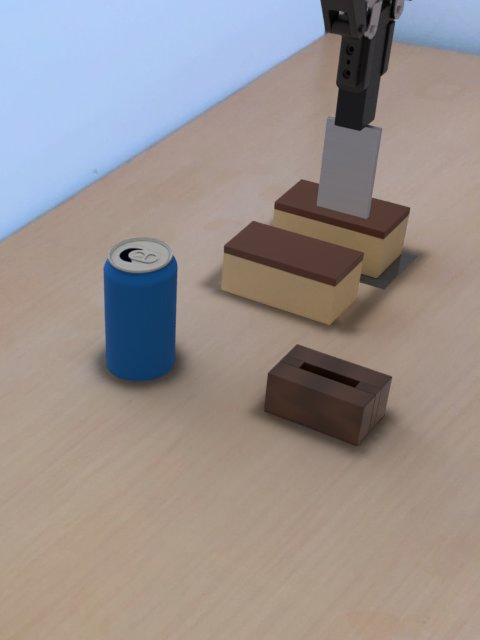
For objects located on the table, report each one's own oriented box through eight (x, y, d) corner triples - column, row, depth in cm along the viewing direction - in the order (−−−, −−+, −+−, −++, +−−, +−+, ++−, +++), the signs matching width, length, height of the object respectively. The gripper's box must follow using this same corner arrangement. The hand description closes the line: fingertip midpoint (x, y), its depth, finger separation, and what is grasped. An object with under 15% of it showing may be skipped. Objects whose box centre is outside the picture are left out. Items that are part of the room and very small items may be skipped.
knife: (374, 211, 87) (407, 5, 76) (360, 224, 86) (391, 17, 75) (324, 198, 89) (348, -4, 78) (310, 210, 88) (333, 7, 77)
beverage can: (125, 342, 107) (123, 228, 98) (185, 358, 105) (190, 242, 96) (94, 379, 104) (90, 264, 95) (156, 396, 102) (158, 279, 92)
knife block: (383, 423, 96) (393, 376, 92) (355, 455, 94) (364, 407, 90) (291, 390, 100) (296, 343, 96) (262, 419, 98) (267, 372, 94)
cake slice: (356, 299, 107) (364, 252, 103) (329, 326, 105) (336, 279, 101) (249, 265, 113) (252, 220, 109) (220, 291, 110) (223, 245, 107)
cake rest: (401, 253, 112) (411, 207, 108) (376, 278, 109) (385, 232, 105) (296, 223, 117) (301, 178, 113) (269, 247, 115) (274, 201, 111)
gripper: (406, -175, 62) (361, 132, 75) (513, -238, 68) (454, 55, 81) (289, -186, 66) (265, 109, 79) (401, -245, 72) (361, 37, 85)
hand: (361, 80), depth 80 cm, fingers closed on knife, 2 cm apart
